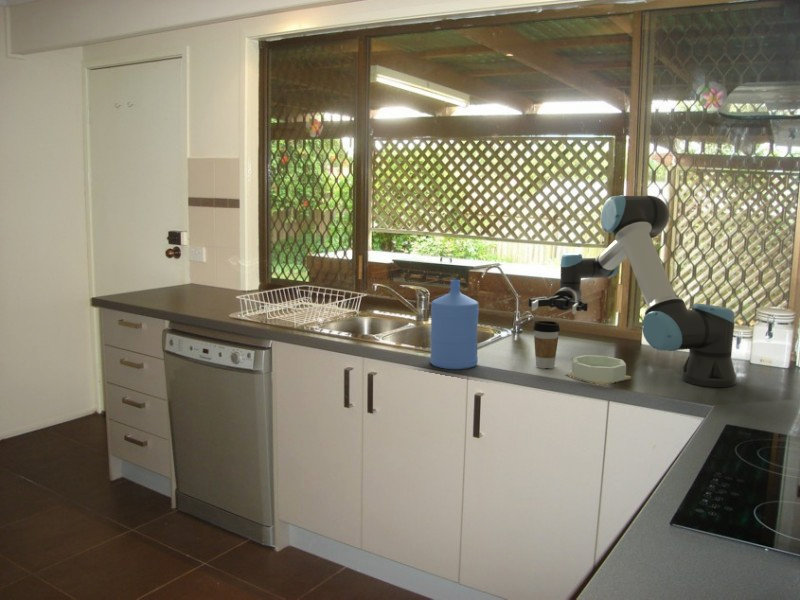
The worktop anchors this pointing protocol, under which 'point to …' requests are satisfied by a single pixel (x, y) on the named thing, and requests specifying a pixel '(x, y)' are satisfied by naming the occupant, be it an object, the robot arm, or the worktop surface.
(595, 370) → the bowl
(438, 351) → the water jug
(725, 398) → the worktop surface
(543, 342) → the coffee cup
